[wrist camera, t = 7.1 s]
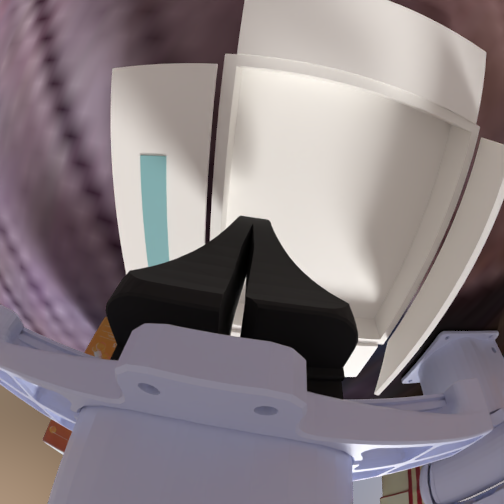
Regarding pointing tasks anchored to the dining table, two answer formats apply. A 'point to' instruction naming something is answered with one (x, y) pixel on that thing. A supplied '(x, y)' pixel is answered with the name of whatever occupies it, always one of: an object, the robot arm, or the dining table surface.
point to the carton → (347, 146)
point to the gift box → (402, 487)
